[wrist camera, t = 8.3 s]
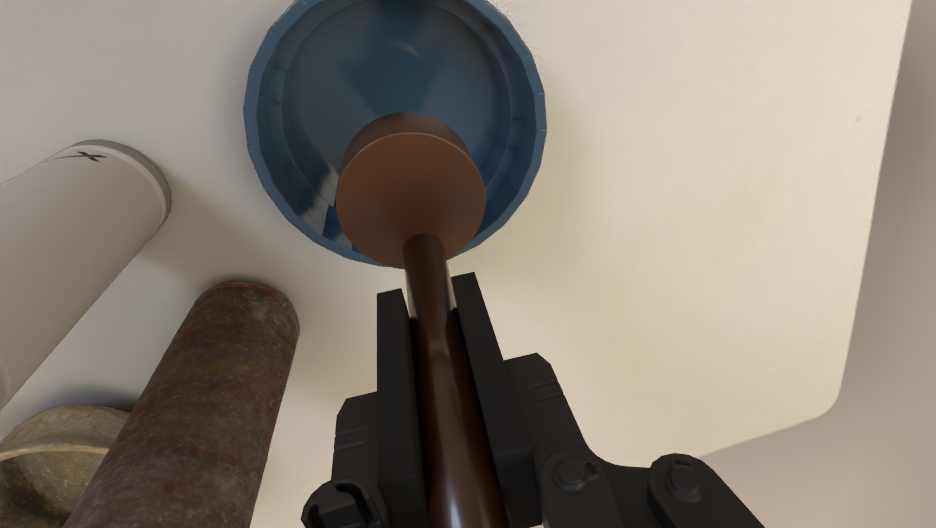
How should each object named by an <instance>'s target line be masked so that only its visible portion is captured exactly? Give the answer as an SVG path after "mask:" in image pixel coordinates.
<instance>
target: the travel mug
mask: <svg viewBox="0 0 936 528" xmlns="http://www.w3.org/2000/svg"><path fill="white" fill-rule="evenodd" d="M170 208H171V194H170V190H169V187H168V184H167V182H166V180H165V178H164V177H163V175H162V173H161V172H160V171H159V170H158V169H157V167H156V166H155V165H154V164H153V163H152V162H151V161H149V160H148V159H147V158H146V157H145V156H143V155H142V154H140V153H138V152H137V151H135V150H133V149H131V148H129V147H127V146H124V145H122V144H118V143H115V142H111V141H103V140H87V141H83V142H79V143H76V144H74V145H72V146H70V147H68V148H66V149H64V150H62V151H61V152H59V153H57V154H56V155H54V156H52V157H50V158H48V159H46V160H45V161H43V162H41V163H39V164H37V165H36V166H34V167H32V168H30V169H28V170H27V171H25V172H23V173H21V174H19V175H18V176H16V177H14V178H12V179H10V180H9V181H7V182H5V183H3V184H1V185H0V411H1V410H2V409H3V408H4V406H5V405H6V404H7V403H8V402H9V401H10V399H11V398H12V397H13V396H14V395H15V394H16V392H17V391H18V390H19V389H20V388H21V387H22V386H23V384H24V383H25V382H26V381H27V380H28V379H29V377H30V376H31V375H32V374H33V373H34V372H35V371H36V369H37V368H38V367H39V366H40V365H41V364H42V362H43V361H44V360H45V359H46V358H47V357H48V356H49V354H50V353H51V352H52V351H53V350H54V349H55V347H56V346H57V345H58V344H59V343H60V342H61V341H62V339H63V338H64V337H65V336H66V335H67V334H68V332H69V331H70V330H71V329H72V328H73V327H74V325H75V324H76V323H77V322H78V321H79V320H80V319H81V317H82V316H83V315H84V314H85V313H86V312H87V310H88V309H89V308H90V307H91V306H92V305H93V304H94V302H95V301H96V300H97V299H98V298H99V297H100V295H101V294H102V293H103V292H104V291H105V290H106V289H107V287H108V286H109V285H110V284H111V283H112V282H113V280H114V279H115V278H116V277H117V276H118V275H119V273H120V272H121V271H122V270H123V269H124V268H125V267H126V265H127V264H128V263H129V262H130V261H131V260H132V258H133V257H134V256H135V255H136V254H137V253H138V252H139V250H140V249H141V248H142V247H143V246H144V245H145V243H146V242H147V241H148V240H149V239H150V238H151V237H152V235H153V234H154V233H155V232H156V231H157V230H158V228H159V227H160V226H161V225H162V224H163V222H164V221H165V220H166V218H167V217H168V214H169V212H170Z"/></svg>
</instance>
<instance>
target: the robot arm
mask: <svg viewBox="0 0 936 528" xmlns="http://www.w3.org/2000/svg"><path fill="white" fill-rule="evenodd" d="M451 282H452V287H453V292H454V296H455V301H456V306H457V310H458V314H459V318H460V322H461V327H462V331H463V335H464V339H465V343H466V347H467V352H468V356H469V360H470V364H471V368H472V372H473V376H474V381H475V385H476V389H477V393H478V397H479V401H480V406H481V410H482V414H483V418H484V422H485V426H486V430H487V435H488V439H489V443H490V447H491V451H492V455H493V460H494V464H495V468H496V472H497V476H498V480H499V485H500V489H501V492H502V494H503V495H504V499H505V503H506V507H507V511H508V515H509V519H510V523H511V527H512V528H530V527H534V526H538V525H542V522H543V526H544V528H765V527H764V526H763V525H762V524H761V523H760V522H759V521H758V519H757V518H756V517H755V516H754V515H753V514H752V513H751V512H750V510H749V509H748V508H747V507H746V506H745V505H744V504H743V503H742V501H741V500H740V499H739V498H738V497H737V496H736V495H735V494H734V493H733V491H732V490H731V489H730V488H729V487H728V486H727V485H726V484H725V483H724V481H723V480H722V479H721V478H720V477H719V476H718V475H717V474H716V473H715V472H714V470H713V469H711V468H710V467H709V466H708V465H706V464H705V463H704V462H703V461H701V460H699V459H697V458H694V457H692V456H690V455H685V454H677V453H673V454H668V455H664V456H661V457H660V458H658V459H657V460H656V461H654V462H653V463H652V465H651V467H650V468H642V467H627V466H620V465H614V464H612V463H609V462H607V461H604V460H603V459H601V458H600V457H598V456H596V455H595V454H594V453H593V452H592V451H591V450H590V449H589V447H588V445H587V444H586V442H585V440H584V438H583V436H582V434H581V431H580V429H579V427H578V425H577V422H576V420H575V418H574V416H573V414H572V411H571V409H570V407H569V405H568V402H567V400H566V398H565V396H564V395H563V391H562V389H561V387H560V384H559V383H558V381H557V378H556V375H555V373H554V371H553V369H552V367H551V364H550V363H548V362H547V361H546V360H545V359H544V358H543V357H541V356H540V355H539V354H538V353H534V354H529V355H525V356H521V357H517V358H512V359H508V360H504V361H503V358H502V355H501V352H500V349H499V346H498V342H497V339H496V336H495V333H494V330H493V327H492V324H491V321H490V318H489V315H488V312H487V309H486V306H485V303H484V300H483V297H482V294H481V291H480V288H479V285H478V282H477V279H476V276H475V272H471V273H467V274H462V275H458V276H454V277H451ZM335 434H336V437H335V443H334V454H333V465H332V476H331V480H330V481H328V482H326V483H324V484H322V485H321V486H320V487H319V488H318V489H317V490H316V491H314V492H313V493H312V494H311V496H310V498H309V499H308V501H307V502H306V504H305V505H304V508H303V512H302V516H301V521H302V523H303V524H304V526H305V527H306V528H429V519H428V503H427V493H426V482H425V472H424V462H423V451H422V441H421V430H420V420H419V410H418V399H417V389H416V378H415V368H414V358H413V347H412V337H411V326H410V317H409V314H408V310H407V307H406V303H405V300H404V296H403V293H402V289H401V288H400V289H395V290H391V291H386V292H382V293H378V294H377V392H373V393H368V394H364V395H360V396H356V397H351V398H347V399H346V400H345V402H344V404H343V406H342V407H341V409H340V411H339V413H338V415H337V421H336V432H335Z"/></svg>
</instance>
